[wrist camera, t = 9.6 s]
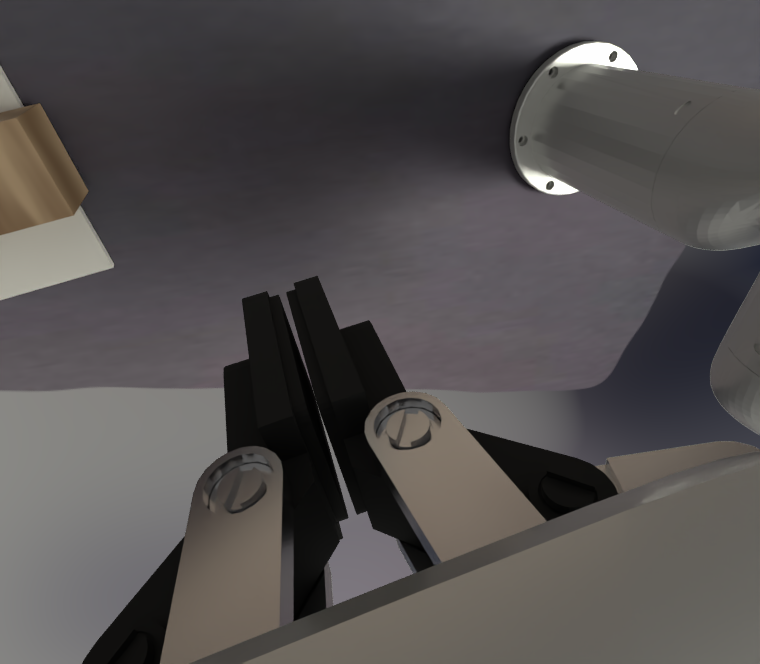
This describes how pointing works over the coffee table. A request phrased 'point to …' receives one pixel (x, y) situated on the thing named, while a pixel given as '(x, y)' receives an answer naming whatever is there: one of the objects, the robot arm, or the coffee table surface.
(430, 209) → the coffee table surface
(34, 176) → the brown wooden block
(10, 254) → the mat
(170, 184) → the coffee table surface
